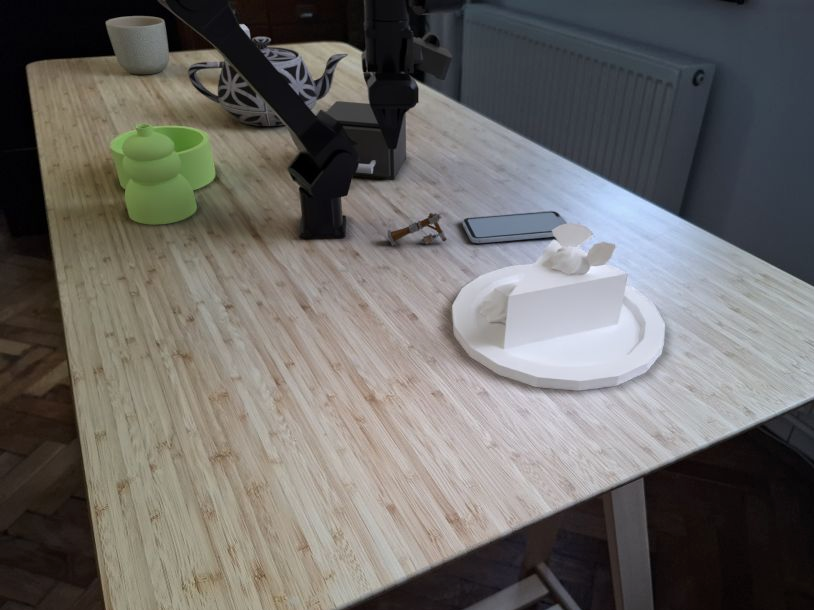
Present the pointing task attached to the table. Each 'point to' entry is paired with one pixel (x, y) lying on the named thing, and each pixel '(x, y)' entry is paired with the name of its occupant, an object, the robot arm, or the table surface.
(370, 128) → the drawer
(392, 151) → the cabinet
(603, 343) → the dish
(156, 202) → the food container
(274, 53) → the teapot
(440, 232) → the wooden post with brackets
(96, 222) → the table surface
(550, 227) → the smartphone
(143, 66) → the planter
